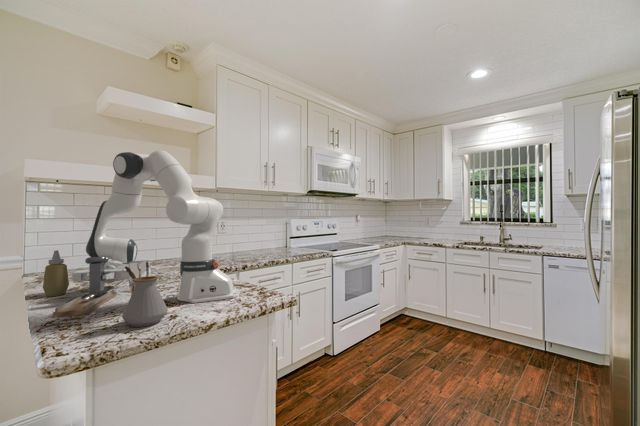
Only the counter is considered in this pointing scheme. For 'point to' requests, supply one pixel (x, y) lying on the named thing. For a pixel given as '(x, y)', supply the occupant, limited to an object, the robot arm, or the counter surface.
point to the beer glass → (139, 271)
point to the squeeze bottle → (55, 276)
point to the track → (82, 305)
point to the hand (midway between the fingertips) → (96, 277)
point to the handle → (96, 277)
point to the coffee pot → (144, 302)
